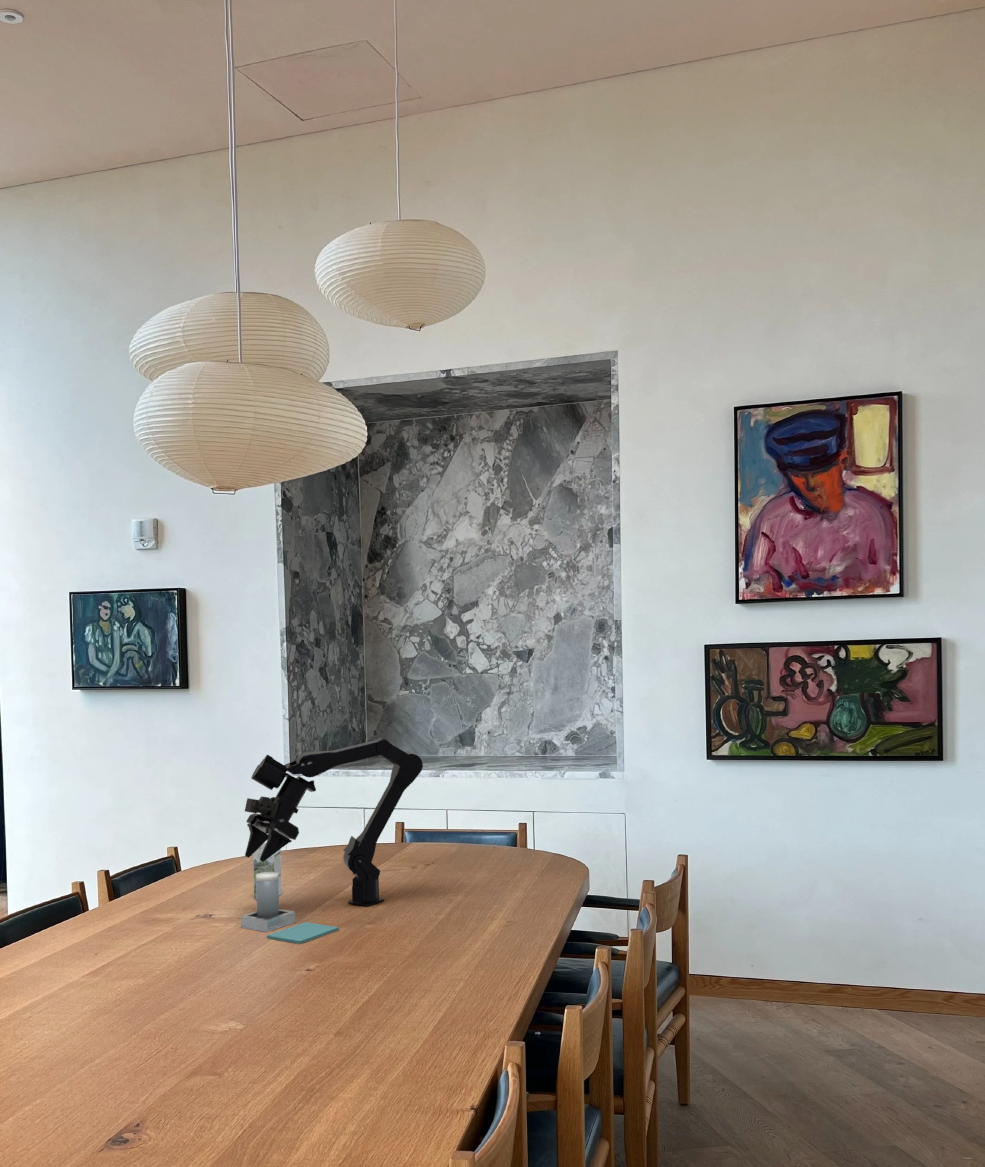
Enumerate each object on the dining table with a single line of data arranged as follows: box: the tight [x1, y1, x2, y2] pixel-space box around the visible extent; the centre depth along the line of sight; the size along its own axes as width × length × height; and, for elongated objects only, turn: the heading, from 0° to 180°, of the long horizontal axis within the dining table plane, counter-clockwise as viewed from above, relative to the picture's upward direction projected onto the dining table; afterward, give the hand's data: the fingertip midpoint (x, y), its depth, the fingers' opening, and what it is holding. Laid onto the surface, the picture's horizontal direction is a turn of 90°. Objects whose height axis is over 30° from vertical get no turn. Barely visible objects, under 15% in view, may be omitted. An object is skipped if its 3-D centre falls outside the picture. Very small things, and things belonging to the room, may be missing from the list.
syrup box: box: [252, 841, 283, 900], centre depth 256 cm, size 6×6×14 cm
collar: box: [240, 908, 296, 933], centre depth 227 cm, size 9×9×2 cm
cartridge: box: [255, 872, 280, 919], centre depth 228 cm, size 5×5×12 cm
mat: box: [266, 921, 340, 945], centre depth 218 cm, size 12×10×1 cm
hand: (253, 858), depth 234 cm, fingers open, 9 cm apart
